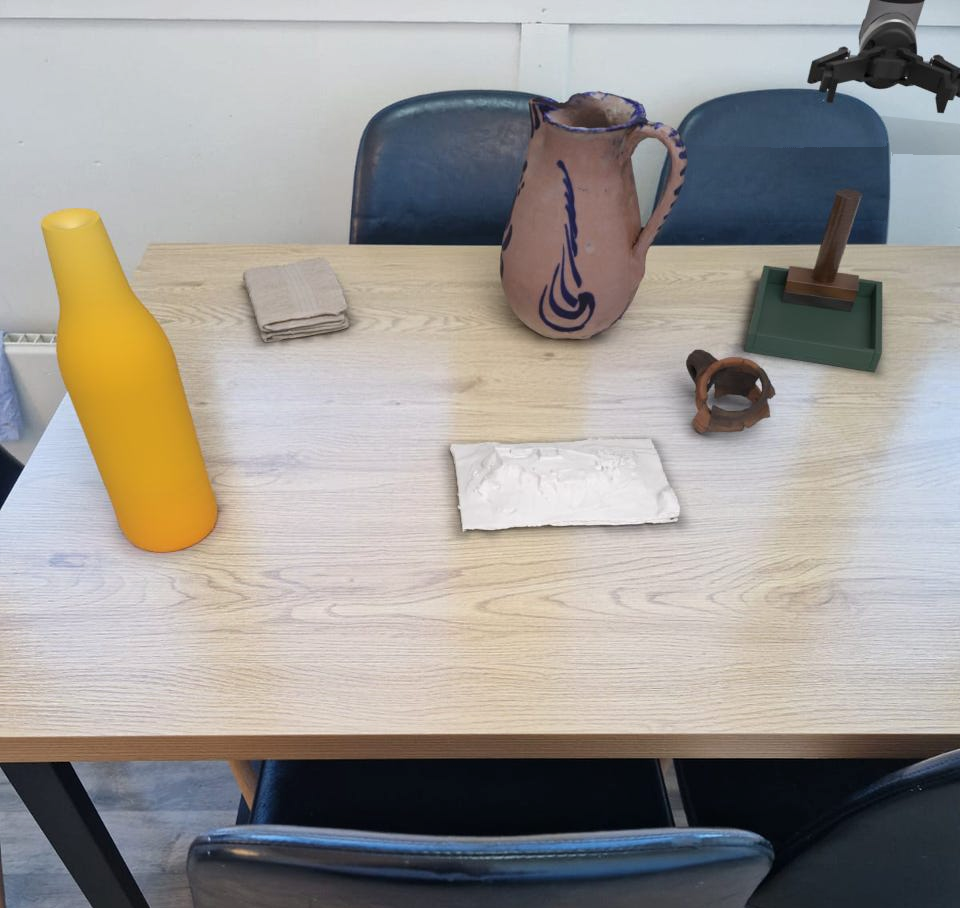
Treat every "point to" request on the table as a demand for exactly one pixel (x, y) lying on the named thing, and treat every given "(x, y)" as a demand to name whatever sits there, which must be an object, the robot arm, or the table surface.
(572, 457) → the terrain model
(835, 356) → the tray
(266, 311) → the washcloth
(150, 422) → the beer bottle
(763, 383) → the broken clay pot
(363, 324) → the table surface
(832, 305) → the brush
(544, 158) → the ceramic pitcher
